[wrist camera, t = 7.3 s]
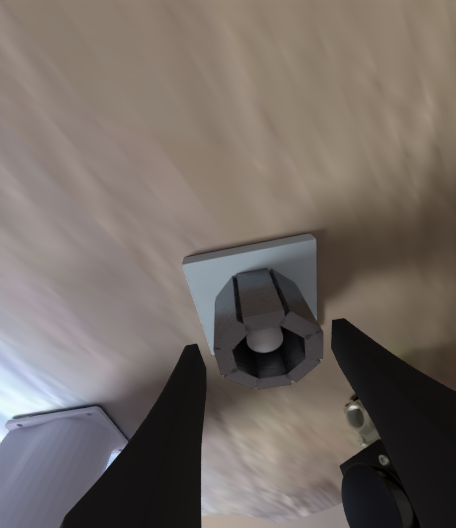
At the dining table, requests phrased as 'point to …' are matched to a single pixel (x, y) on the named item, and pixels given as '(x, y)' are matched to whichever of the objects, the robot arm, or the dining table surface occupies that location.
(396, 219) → the dining table surface
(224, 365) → the ring
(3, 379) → the dining table surface
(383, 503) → the pneumatic valve
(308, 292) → the square plate with peg
